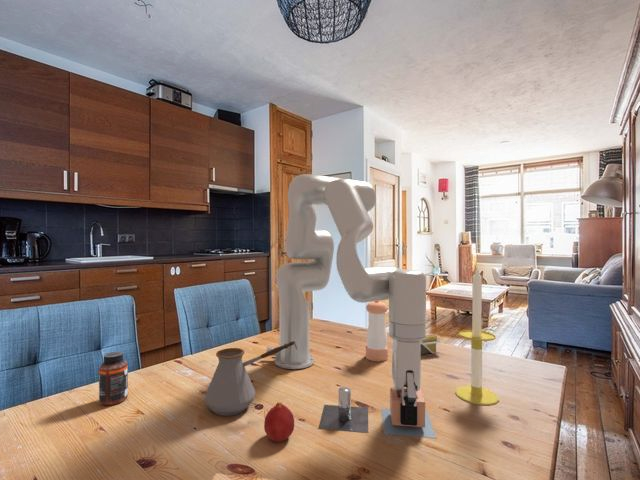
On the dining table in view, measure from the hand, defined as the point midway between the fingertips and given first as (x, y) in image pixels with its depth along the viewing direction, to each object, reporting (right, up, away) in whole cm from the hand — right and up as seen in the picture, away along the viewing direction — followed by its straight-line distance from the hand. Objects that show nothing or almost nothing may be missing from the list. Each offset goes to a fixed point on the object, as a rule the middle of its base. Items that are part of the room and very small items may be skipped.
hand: (406, 414), depth 71 cm
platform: (+19, -3, +45) cm, 49 cm away
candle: (+21, -3, +14) cm, 26 cm away
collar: (0, -1, 0) cm, 1 cm away
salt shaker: (+1, -3, +41) cm, 41 cm away
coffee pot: (-34, -3, +9) cm, 35 cm away
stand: (-13, -3, +2) cm, 13 cm away
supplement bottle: (-68, -3, +11) cm, 69 cm away
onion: (-26, -3, -6) cm, 27 cm away
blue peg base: (0, -3, 0) cm, 3 cm away
